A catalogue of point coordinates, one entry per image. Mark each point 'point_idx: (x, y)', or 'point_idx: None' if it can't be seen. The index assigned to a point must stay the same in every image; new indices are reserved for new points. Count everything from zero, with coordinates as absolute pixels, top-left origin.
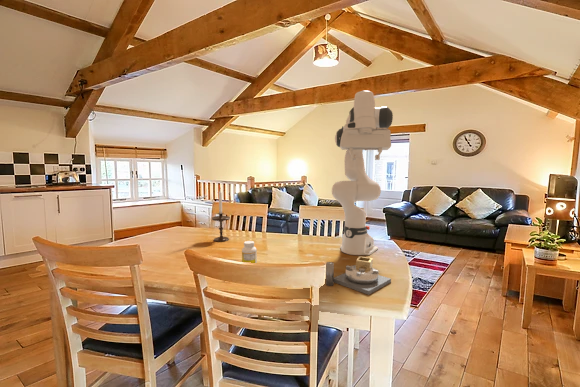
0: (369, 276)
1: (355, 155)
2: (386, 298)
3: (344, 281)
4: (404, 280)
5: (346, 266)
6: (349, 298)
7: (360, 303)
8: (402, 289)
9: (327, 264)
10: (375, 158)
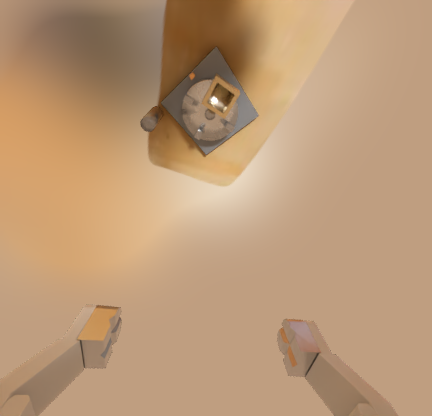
0: (214, 139)
1: (106, 358)
2: (224, 163)
3: (179, 119)
4: (284, 108)
5: (183, 100)
6: (179, 158)
7: (190, 170)
8: (259, 141)
9: (143, 128)
10: (285, 334)
